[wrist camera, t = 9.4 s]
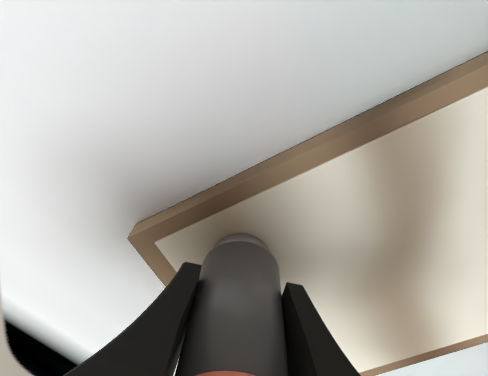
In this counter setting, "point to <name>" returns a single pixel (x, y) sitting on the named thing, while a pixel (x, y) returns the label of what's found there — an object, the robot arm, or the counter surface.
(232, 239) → the marker
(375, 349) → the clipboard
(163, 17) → the counter surface
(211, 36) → the counter surface
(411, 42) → the counter surface
